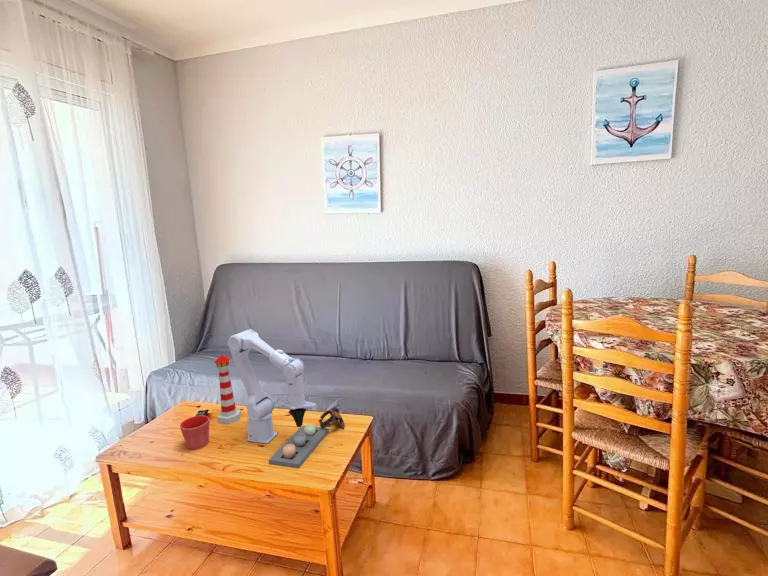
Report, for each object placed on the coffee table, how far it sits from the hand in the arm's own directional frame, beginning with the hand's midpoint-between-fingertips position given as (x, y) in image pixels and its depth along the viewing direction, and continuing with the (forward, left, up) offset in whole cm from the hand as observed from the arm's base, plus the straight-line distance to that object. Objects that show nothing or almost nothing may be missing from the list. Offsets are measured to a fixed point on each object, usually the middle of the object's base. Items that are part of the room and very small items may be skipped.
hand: (299, 425), depth 158 cm
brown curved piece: (+6, +16, -9) cm, 19 cm away
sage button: (0, +7, -8) cm, 11 cm away
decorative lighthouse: (-43, +13, -9) cm, 46 cm away
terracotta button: (0, -9, -7) cm, 11 cm away
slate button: (0, -1, -7) cm, 7 cm away
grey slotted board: (0, -1, -8) cm, 8 cm away
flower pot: (-42, -8, -9) cm, 44 cm away
